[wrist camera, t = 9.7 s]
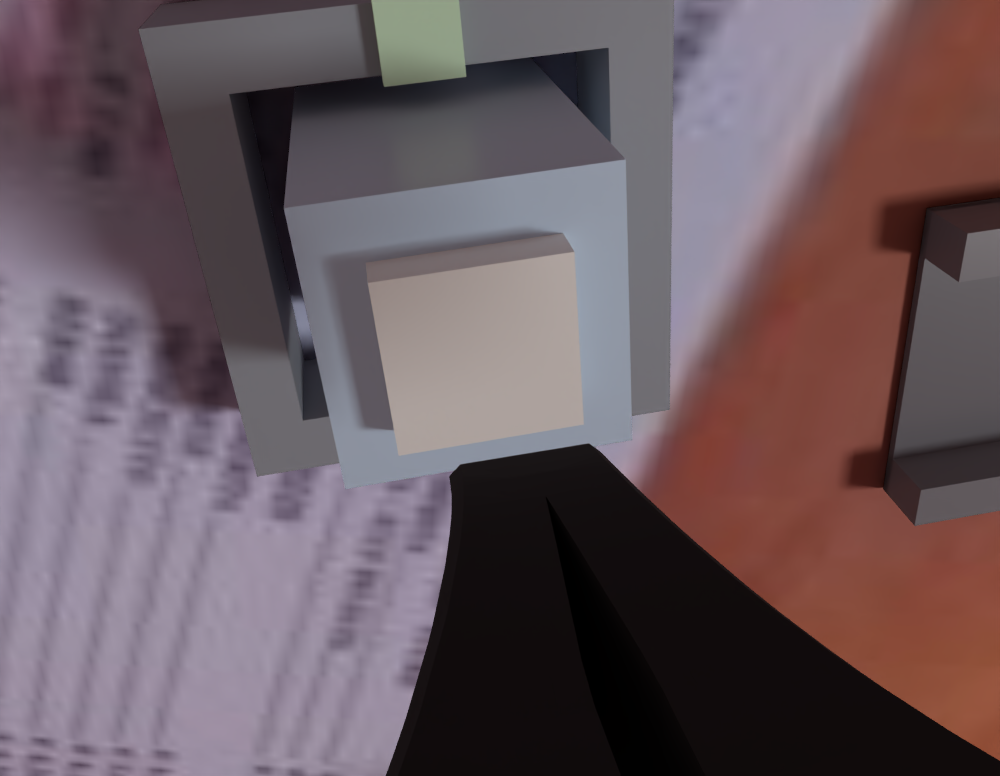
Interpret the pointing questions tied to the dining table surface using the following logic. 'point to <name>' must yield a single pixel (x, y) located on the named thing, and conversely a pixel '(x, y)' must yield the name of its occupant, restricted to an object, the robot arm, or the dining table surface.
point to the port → (400, 60)
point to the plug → (460, 269)
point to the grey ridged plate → (951, 372)
